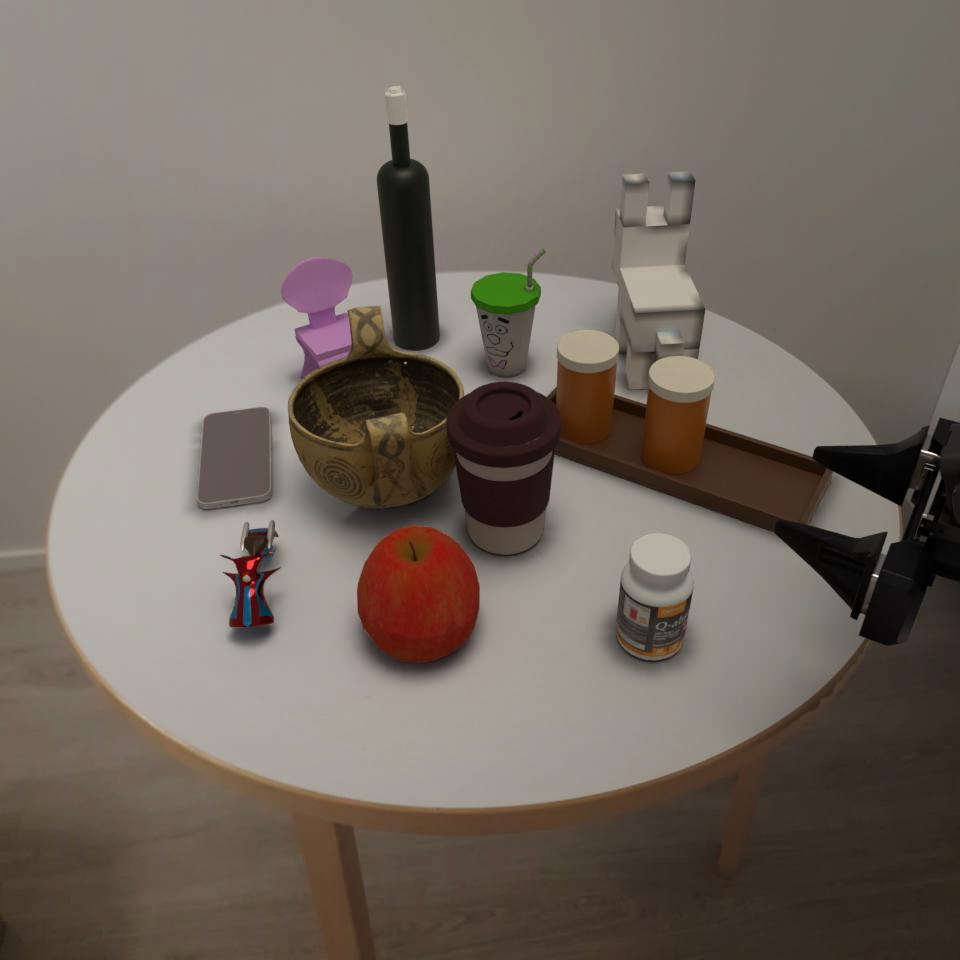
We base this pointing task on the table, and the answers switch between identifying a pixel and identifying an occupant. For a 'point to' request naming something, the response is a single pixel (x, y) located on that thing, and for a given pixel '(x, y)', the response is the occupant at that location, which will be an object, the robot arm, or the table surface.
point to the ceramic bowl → (375, 420)
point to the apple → (418, 595)
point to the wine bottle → (407, 235)
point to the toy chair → (320, 309)
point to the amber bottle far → (586, 385)
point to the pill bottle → (655, 597)
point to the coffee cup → (504, 463)
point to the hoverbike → (252, 578)
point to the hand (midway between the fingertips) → (795, 487)
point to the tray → (712, 470)
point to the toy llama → (654, 276)
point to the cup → (507, 318)
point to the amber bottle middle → (676, 413)
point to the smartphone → (235, 458)
